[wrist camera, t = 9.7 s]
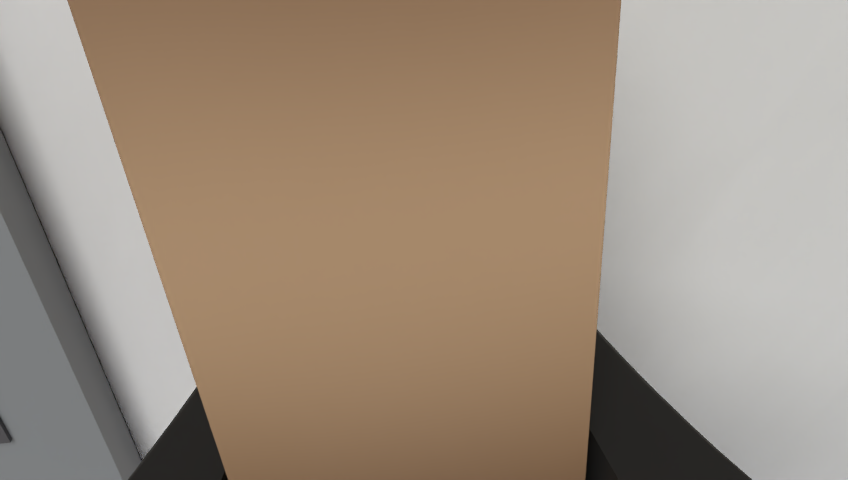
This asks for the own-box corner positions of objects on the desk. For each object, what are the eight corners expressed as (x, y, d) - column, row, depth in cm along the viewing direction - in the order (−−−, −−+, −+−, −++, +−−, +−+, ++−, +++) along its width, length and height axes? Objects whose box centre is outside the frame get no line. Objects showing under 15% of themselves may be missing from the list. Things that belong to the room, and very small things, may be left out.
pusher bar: (494, 471, 15) (560, 814, 10) (355, 485, 15) (347, 839, 10) (475, -180, 9) (633, -173, 3) (233, -158, 8) (24, -123, 3)
